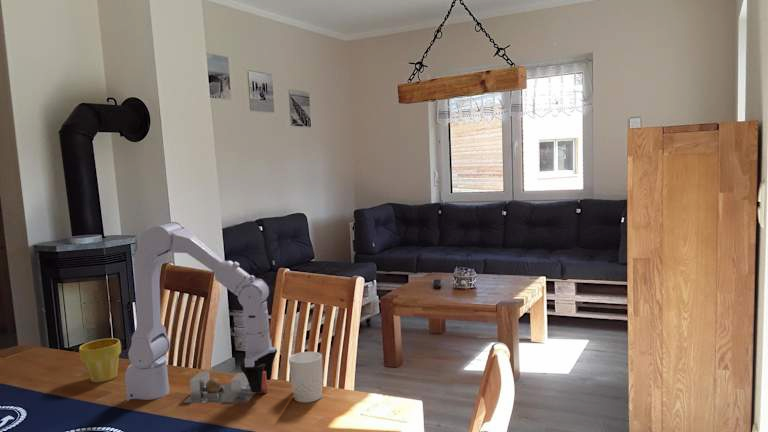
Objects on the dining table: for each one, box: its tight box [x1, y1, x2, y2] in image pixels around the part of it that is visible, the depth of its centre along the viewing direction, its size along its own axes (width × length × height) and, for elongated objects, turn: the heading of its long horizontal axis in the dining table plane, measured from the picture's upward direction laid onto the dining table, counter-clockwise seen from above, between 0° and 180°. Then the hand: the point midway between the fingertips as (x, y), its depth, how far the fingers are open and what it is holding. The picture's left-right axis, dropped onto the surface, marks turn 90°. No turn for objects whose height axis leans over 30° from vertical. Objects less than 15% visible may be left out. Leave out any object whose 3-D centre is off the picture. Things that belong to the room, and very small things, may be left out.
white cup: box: [288, 351, 323, 404], centre depth 145 cm, size 8×8×10 cm
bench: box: [182, 370, 257, 404], centre depth 147 cm, size 16×11×6 cm
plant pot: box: [78, 337, 122, 383], centre depth 166 cm, size 10×10×10 cm
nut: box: [206, 377, 222, 393], centre depth 148 cm, size 4×4×4 cm
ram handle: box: [230, 370, 268, 395], centre depth 146 cm, size 8×5×5 cm, turn 83°
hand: (261, 385), depth 146 cm, fingers open, 7 cm apart
